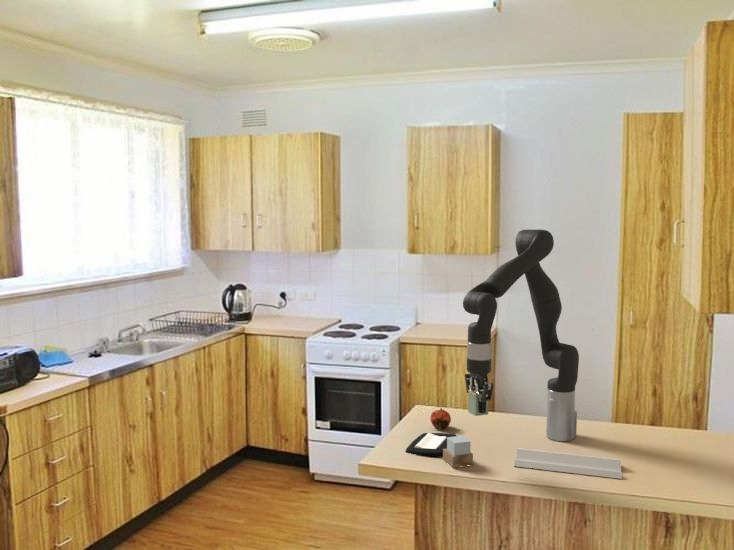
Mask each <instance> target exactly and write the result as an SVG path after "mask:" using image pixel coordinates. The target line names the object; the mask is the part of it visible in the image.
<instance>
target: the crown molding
mask: <svg viewBox="0 0 734 550" xmlns="http://www.w3.org/2000/svg"><path fill="white" fill-rule="evenodd" d="M515 466H516V468H517V467H518V468H525V469H532V468H533V470H543V471H551V472H560V473H568V474H574V475H575V474H576V475H584V476H591V477H592V476H593V477H602V478H610V479H619V480H622V479H623V478H622V477H623V474H622V459H621V458H613V457H606V456H605V457H603V456H597V455H596V456H595V455H585V454H577V453H568V452H559V451H557V452H555V451H550V450H549V451H548V450H541V449H531V448H530V449H529V448H521V447H517V448H516V455H515V459H514V465H513V467H515Z"/></svg>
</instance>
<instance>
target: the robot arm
mask: <svg viewBox="0 0 734 550" xmlns="http://www.w3.org/2000/svg"><path fill="white" fill-rule="evenodd" d="M514 241H515V250H516V253H517V256H515V257H514V258H512V259H510V260H508V261H506V262H505V263H503V264H501V265H500V266H499V267H497V268H496V269H494V271H493V272H492V273H491V274H490V275H489V276H488V278H487V279H486V280H483V282H481V283H479V284H477V285H476V286H474V287H472V288H471V289H470V290H468V292H467V293H466V294H465V296H464V298H463V300H462V307H463V309H464V311H465V312H466V313H469V314H470V315H475V316H476V315H477V316H478V319H477V321H474V322H471V323H469V325H468V328H467V347H466V372H468V373H465V374H464V380H465V389H466V393H467V394H469V392H468V389H470V390H473V389H476V393H478V394H479V413H486V402H487V401H489V402H490V401H491V400H492V396H493V389H494V383H493V382H490V381H489V378H488V374H489V373H491V371H492V351H493V350H492V328H493V325H494V320H495V317H496V314H497V310H498V309H497V308H498V303H497V302H498V301H497V299H499V298H501V297H503V296H504V295H505V294H506V293H507V292H508V290H510V288H511V287H512V286H513V285H514V284H515V283H516V282H517V281H518V280H519V279H520V278H521V277H523V275H524V276H525V279H526V282H527V286H528V290H529V294H530V299H531V304H532V308H533V311H534V316H535V319H536V323H537V327H538V333H539V339H540V348H541V355H542V359H543V362H544V364H545V365H546V366H548V367H549V368H550V369H555V370H558V375H557V377H551V378H549V379H548V380H547V389H546V391H547V393H546V395H547V396H546V398H547V399H546V437H547V438H548V439H550V440H553V441H557V442H569V441H573V440H574V439H576V438H577V423H578V420H577V419H578V411H577V410H575V407H576V406H575V405H576V404H575V402H576V401H575V400H576V394H575V393H576V386H577V382H578V377H579V376H578V375H579V364H580V362H579V361H580V356H579V355H580V354H579V350H578V349H577V347H576V346H574V345H571V344H567V343H562V342H560V340H559V338H558V334H557V325H558V322H559V319H560V317H561V315H562V309H563V308H562V301H561V297H560V293H559V289H558V288H557V286H556V285H555V283H554V281H552V279H551V278H550V276H548V274H546V272H545V270H544V269H543V268H542V265H541V263H540V262H541V261H543V260H544V259H545V258H546V257H548V256H549V255H550V254H551V252H552V251H553V248H554V245H555V244H554V242H555V241H554V236H553V234H552V233H551V231H549V230H546V229H541V228H540V229H531V228H529V229H522V230H520V231H518V232H517V234H516V236H515V240H514ZM480 390H483V391H480ZM482 393H483V395H481V394H482ZM487 395H488V397H487Z"/></svg>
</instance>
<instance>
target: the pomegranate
mask: <svg viewBox="0 0 734 550" xmlns="http://www.w3.org/2000/svg"><path fill="white" fill-rule="evenodd" d="M429 420H430V422H431V424H432V426H433V427H435V428H437V429H438V431H441V428H440V427H443V428H442V429H445V428H448V427H449V426H450V424H451V420H452V417H451V414H450V413H449V412H448V411H447V410H445V409H442V407H441V408H439V409H436V410H434V411H432V413H431V414H430V419H429ZM438 427H439V428H438Z"/></svg>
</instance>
